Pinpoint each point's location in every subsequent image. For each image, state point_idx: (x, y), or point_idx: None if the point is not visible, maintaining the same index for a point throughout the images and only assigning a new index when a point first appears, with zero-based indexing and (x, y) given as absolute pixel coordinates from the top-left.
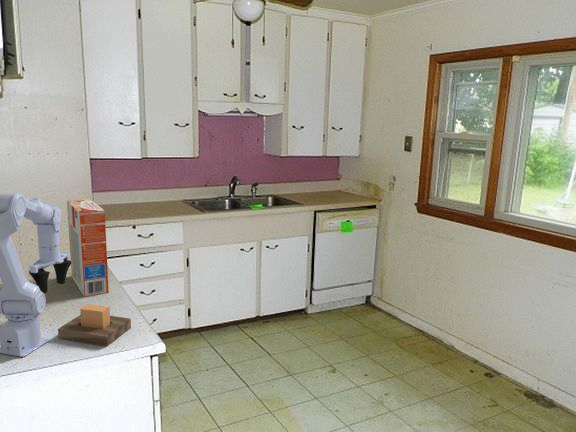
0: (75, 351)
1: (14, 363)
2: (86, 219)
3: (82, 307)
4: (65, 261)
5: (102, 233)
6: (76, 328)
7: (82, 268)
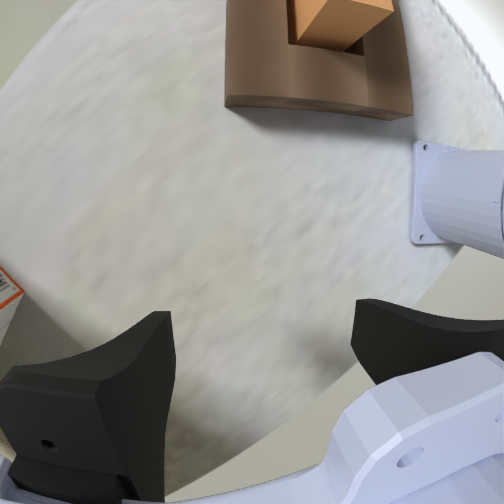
0: (424, 33)
1: None
2: None
3: (377, 6)
4: (61, 453)
5: None
6: (385, 46)
7: None
